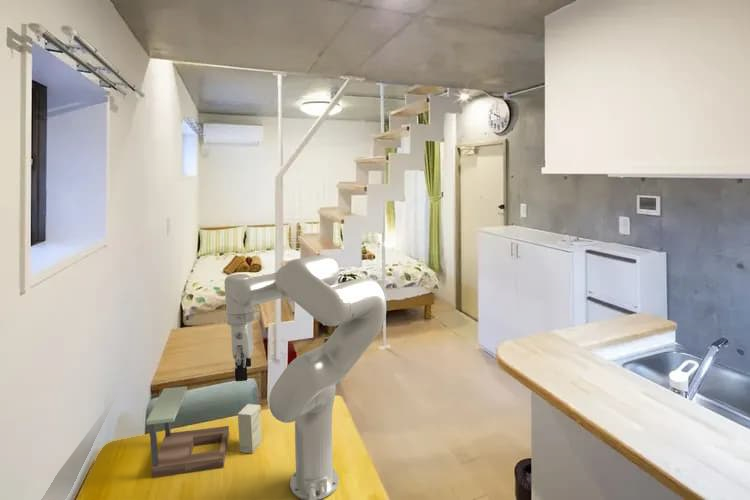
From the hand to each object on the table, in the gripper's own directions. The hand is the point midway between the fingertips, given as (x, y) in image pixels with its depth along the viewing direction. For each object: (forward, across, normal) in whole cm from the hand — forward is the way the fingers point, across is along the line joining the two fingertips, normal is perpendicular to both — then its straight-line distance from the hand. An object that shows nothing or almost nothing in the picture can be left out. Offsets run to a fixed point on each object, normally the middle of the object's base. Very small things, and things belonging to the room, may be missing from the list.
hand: (243, 373), depth 122 cm
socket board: (+23, -2, +15) cm, 27 cm away
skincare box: (+23, -1, -1) cm, 23 cm away
